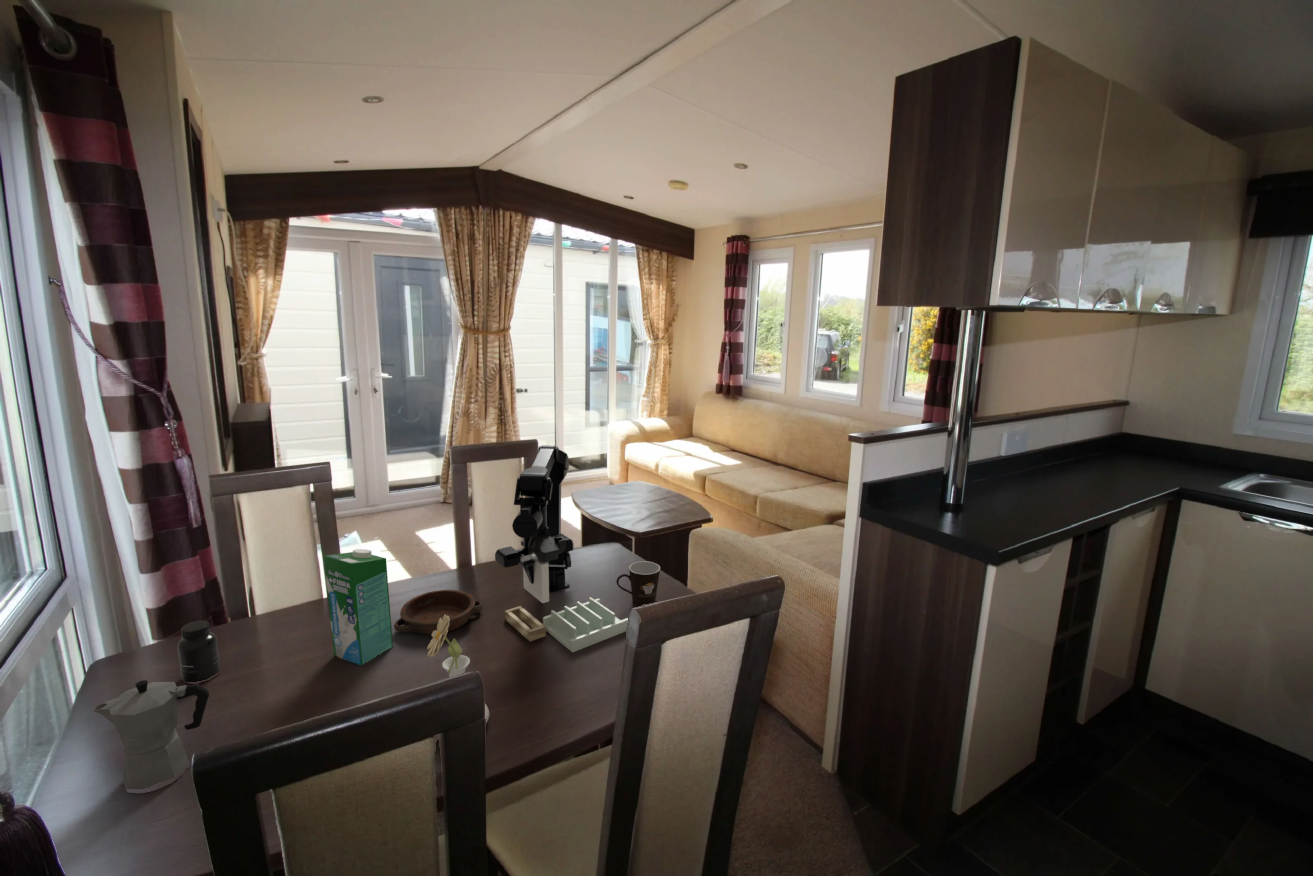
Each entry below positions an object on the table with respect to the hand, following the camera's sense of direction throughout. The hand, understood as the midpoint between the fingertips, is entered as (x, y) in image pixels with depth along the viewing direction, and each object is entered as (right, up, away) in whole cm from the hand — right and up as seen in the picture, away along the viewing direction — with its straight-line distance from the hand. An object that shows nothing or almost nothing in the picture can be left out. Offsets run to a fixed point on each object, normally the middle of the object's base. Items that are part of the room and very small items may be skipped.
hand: (535, 582), depth 151 cm
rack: (+12, -13, +4) cm, 18 cm away
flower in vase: (-9, -21, -33) cm, 40 cm away
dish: (-26, -12, +6) cm, 29 cm away
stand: (-3, -12, +4) cm, 13 cm away
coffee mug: (+25, -10, +19) cm, 33 cm away
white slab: (0, -3, +1) cm, 3 cm away
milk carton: (-39, -15, -8) cm, 42 cm away
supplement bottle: (-69, -16, -19) cm, 73 cm away
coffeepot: (-55, -22, -46) cm, 75 cm away
